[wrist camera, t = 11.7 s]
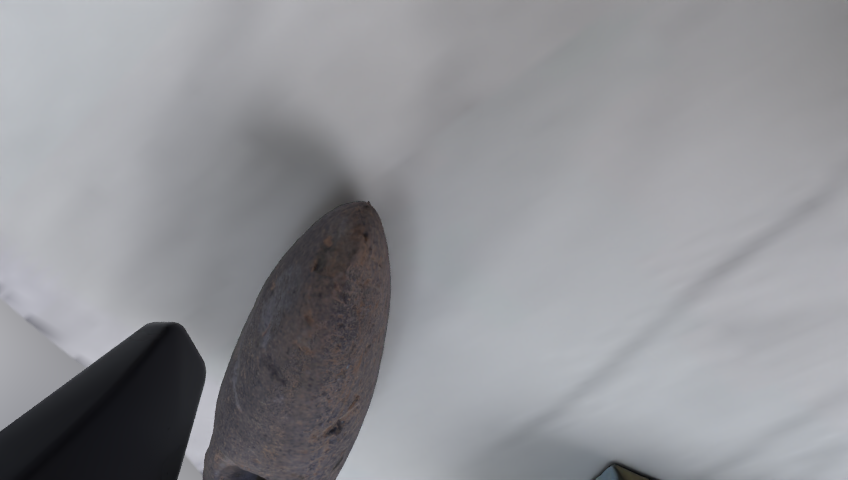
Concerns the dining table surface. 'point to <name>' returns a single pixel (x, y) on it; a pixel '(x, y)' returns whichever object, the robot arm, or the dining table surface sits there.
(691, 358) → the dining table surface
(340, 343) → the perforated stone tool
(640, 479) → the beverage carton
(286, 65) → the dining table surface
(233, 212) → the dining table surface
